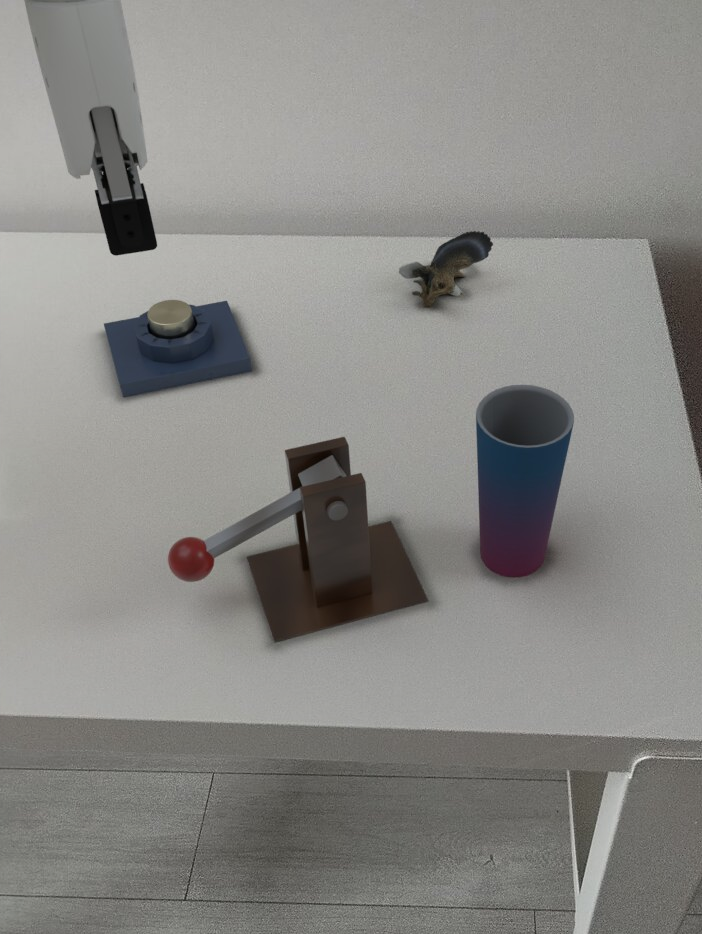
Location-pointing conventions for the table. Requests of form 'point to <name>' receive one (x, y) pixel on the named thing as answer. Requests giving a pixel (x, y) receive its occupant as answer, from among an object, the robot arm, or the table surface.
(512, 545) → the cup
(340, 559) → the bracket
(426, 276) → the brown squirrel toy
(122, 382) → the box
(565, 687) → the table surface
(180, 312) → the button
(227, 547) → the lever
